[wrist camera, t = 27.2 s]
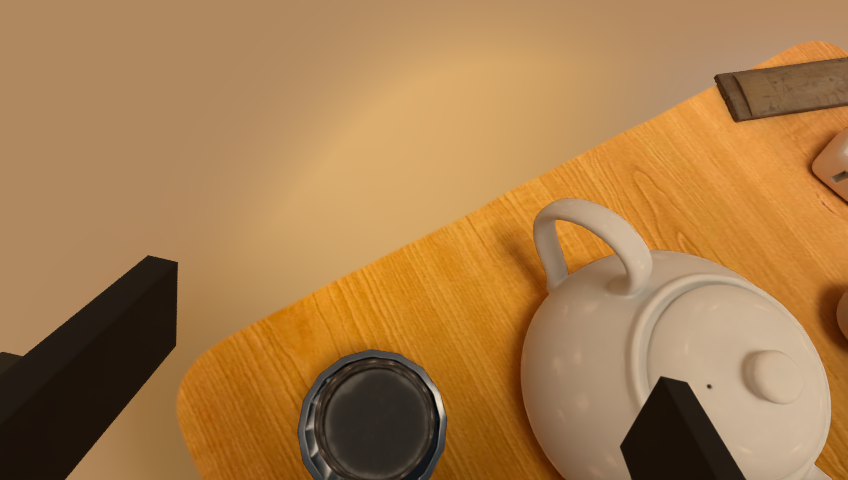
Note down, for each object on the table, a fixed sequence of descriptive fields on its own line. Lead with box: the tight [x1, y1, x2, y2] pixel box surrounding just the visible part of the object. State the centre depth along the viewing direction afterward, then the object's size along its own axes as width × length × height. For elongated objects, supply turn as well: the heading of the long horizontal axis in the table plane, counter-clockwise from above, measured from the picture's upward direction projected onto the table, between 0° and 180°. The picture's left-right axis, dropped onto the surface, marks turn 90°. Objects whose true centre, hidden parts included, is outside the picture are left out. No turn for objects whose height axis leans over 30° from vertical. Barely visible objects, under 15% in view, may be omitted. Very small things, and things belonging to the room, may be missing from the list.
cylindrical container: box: [297, 350, 447, 480], centre depth 30 cm, size 8×8×6 cm
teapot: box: [521, 198, 833, 480], centre depth 29 cm, size 19×18×14 cm
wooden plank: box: [714, 57, 848, 122], centre depth 46 cm, size 17×1×5 cm
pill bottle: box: [314, 358, 435, 480], centre depth 27 cm, size 6×6×11 cm
